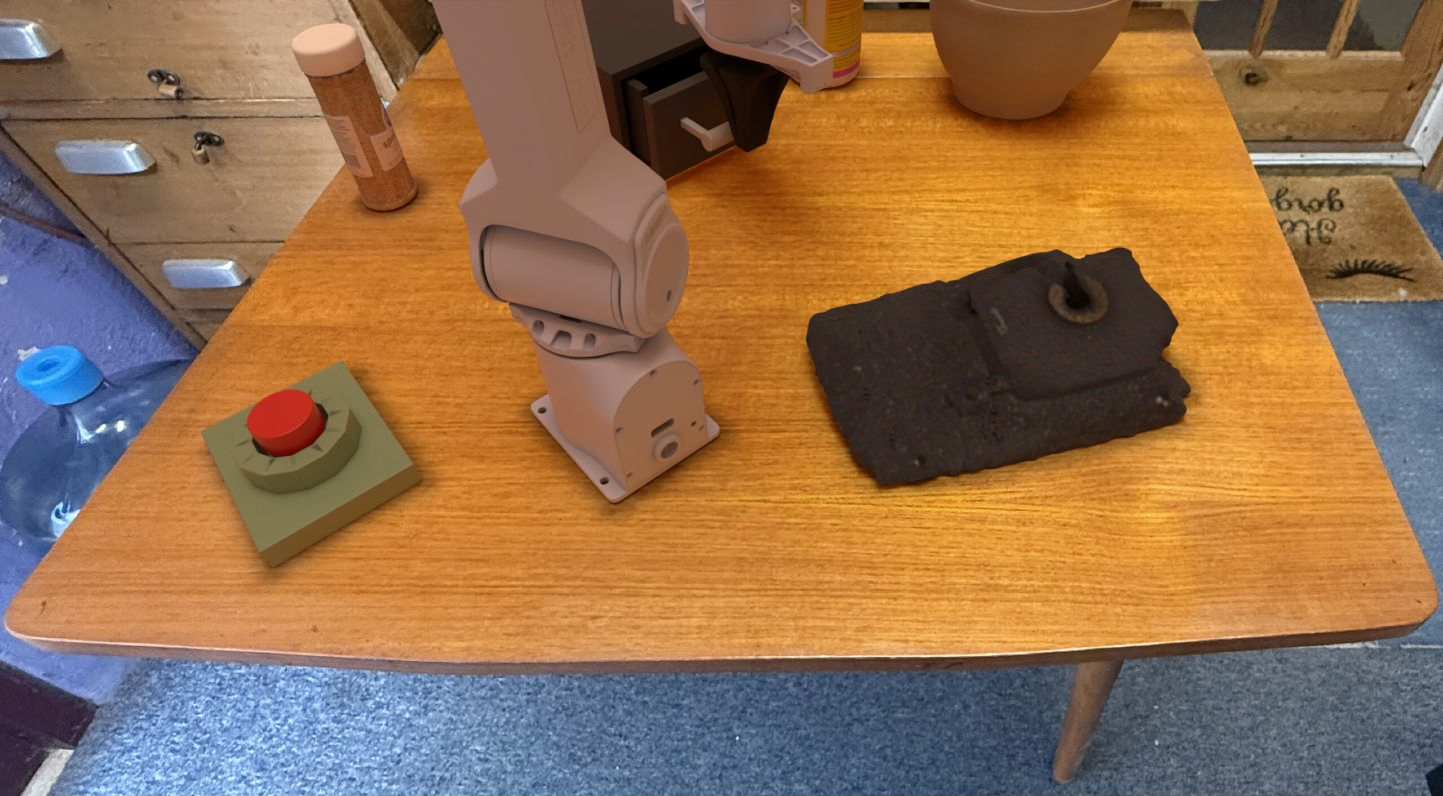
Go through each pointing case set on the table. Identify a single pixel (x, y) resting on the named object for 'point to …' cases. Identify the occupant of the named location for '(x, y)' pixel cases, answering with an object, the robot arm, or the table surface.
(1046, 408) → the black stepped slab
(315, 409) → the button
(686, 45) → the cabinet
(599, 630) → the table surface
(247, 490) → the control block
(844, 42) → the supplement bottle
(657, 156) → the drawer
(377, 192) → the sprinkles bottle
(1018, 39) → the planter bowl
